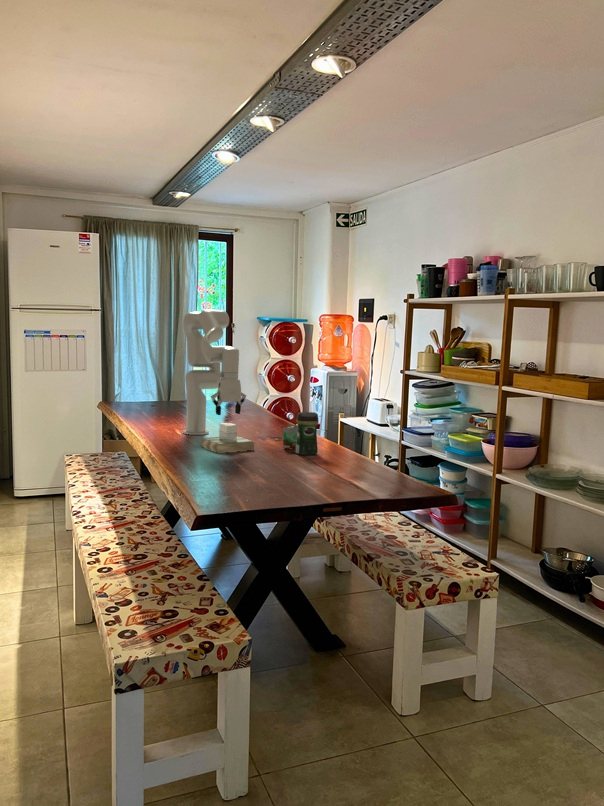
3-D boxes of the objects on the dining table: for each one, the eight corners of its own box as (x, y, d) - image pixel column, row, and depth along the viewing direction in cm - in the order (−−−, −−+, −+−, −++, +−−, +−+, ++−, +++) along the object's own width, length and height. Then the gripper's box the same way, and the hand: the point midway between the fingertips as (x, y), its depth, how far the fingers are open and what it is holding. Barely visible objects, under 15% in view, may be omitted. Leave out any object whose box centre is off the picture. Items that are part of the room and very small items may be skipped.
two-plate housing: (226, 441, 288) (227, 425, 287) (219, 438, 294) (219, 423, 293) (236, 440, 291) (237, 425, 290) (228, 437, 297) (229, 422, 296)
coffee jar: (314, 451, 293) (316, 410, 291) (319, 455, 286) (321, 413, 284) (293, 452, 291) (295, 410, 289) (297, 455, 283) (299, 413, 281)
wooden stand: (201, 446, 294) (201, 438, 294) (236, 443, 304) (236, 435, 304) (218, 453, 281) (218, 444, 281) (254, 450, 292) (254, 441, 291)
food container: (295, 450, 294) (296, 428, 293) (282, 449, 295) (283, 427, 294) (301, 445, 306) (302, 424, 305) (288, 444, 307) (289, 423, 306)
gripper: (216, 377, 281) (214, 416, 283) (250, 376, 291) (249, 414, 293) (208, 375, 287) (206, 413, 289) (242, 374, 297) (240, 411, 299)
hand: (228, 414), depth 291 cm, fingers open, 9 cm apart
